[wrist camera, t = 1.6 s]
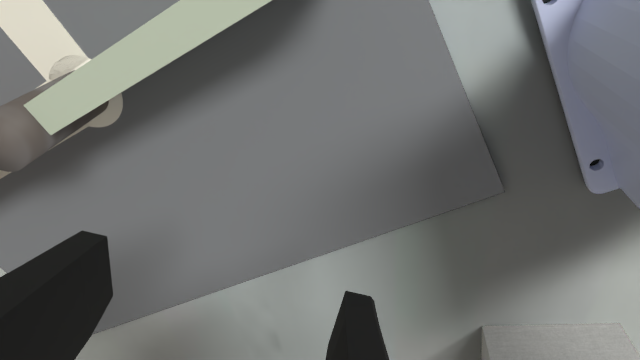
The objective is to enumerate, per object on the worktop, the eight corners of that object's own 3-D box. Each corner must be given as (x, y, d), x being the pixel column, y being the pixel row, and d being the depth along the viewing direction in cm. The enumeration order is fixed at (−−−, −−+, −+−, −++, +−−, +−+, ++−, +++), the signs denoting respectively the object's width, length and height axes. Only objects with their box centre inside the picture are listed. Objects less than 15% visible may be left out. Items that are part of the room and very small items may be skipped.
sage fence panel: (348, -51, 14) (338, -41, 11) (113, 94, 18) (50, 135, 14) (331, -88, 13) (314, -91, 10) (93, 68, 17) (23, 105, 14)
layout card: (503, 188, 18) (505, 192, 18) (84, 334, 28) (81, 338, 27) (124, -760, 8) (115, -784, 8) (-335, -35, 18) (-347, -34, 17)
